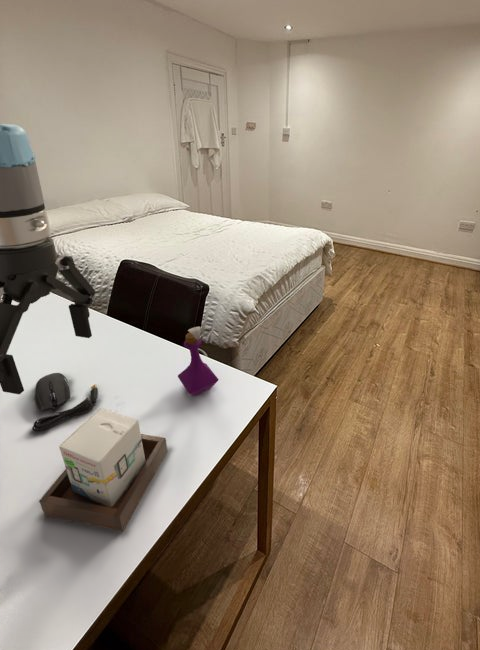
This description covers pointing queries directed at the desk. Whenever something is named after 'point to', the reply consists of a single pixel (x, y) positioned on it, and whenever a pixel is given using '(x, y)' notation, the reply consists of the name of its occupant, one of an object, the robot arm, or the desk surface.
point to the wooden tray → (86, 511)
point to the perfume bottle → (196, 367)
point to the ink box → (104, 456)
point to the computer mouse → (58, 400)
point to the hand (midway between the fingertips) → (52, 360)
